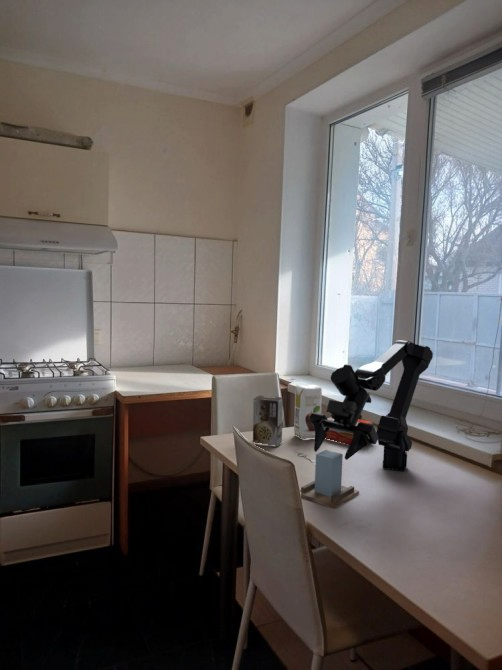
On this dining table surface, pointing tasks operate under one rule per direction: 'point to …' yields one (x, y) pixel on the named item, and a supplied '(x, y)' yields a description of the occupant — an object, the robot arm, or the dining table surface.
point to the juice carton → (306, 409)
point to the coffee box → (267, 420)
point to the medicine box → (342, 433)
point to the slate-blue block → (328, 473)
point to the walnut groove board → (332, 501)
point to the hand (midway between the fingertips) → (329, 454)
